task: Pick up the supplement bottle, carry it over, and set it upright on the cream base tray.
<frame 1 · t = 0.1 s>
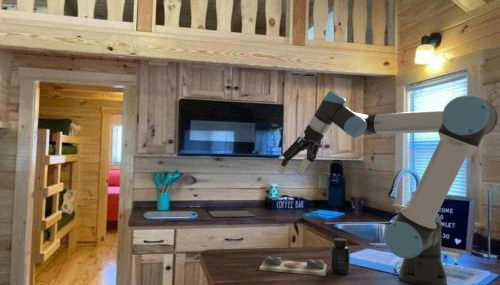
hand: (290, 172, 160), 36 cm above the countertop, tool tilted 35°, fingers open, 13 cm apart
supplement bottle: (340, 272, 144), on the countertop
cream base tray: (293, 268, 148), on the countertop
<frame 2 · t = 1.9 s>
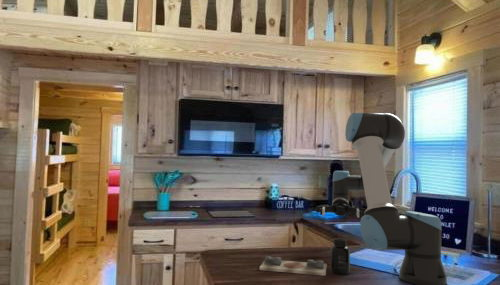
hand: (340, 213, 156), 20 cm above the countertop, tool horizontal, fingers open, 13 cm apart
nothing on the countertop moved.
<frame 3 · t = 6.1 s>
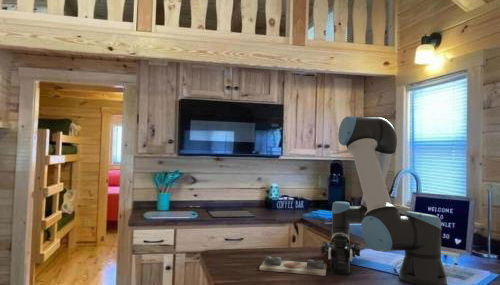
hand: (340, 256, 140), 7 cm above the countertop, tool horizontal, fingers closed on supplement bottle, 7 cm apart
supplement bottle: (340, 272, 144), on the countertop, touching gripper
when the fingers open (9 cm above the countertop, at t = 11.6 s): supplement bottle drops 1 cm, resting on cream base tray.
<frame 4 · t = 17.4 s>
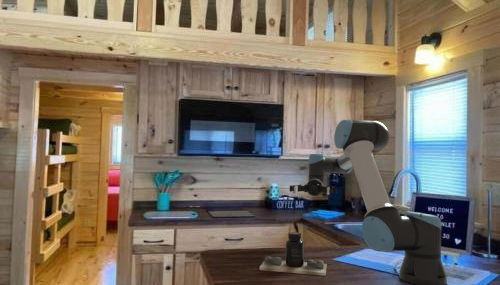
hand: (311, 190, 163), 28 cm above the countertop, tool horizontal, fingers open, 13 cm apart
supplement bottle: (294, 265, 148), point 1 cm above the countertop, touching cream base tray
at the end: supplement bottle 0.2 cm off-centre on the cream base tray, point 0.9 cm above the cream base tray's base; supplement bottle tilted 0°; the gripper is holding nothing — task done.
